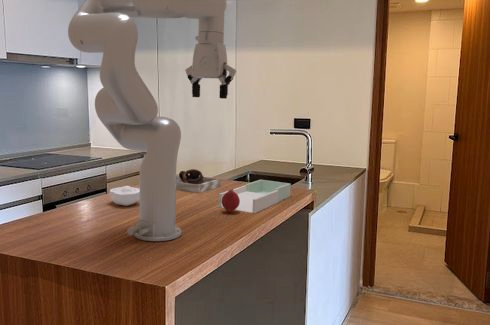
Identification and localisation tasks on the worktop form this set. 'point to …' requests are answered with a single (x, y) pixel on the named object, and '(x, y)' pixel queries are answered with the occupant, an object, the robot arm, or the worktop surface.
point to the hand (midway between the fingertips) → (209, 97)
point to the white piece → (252, 200)
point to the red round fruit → (230, 200)
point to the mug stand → (206, 185)
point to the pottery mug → (191, 176)
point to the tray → (270, 188)
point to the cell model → (125, 195)
